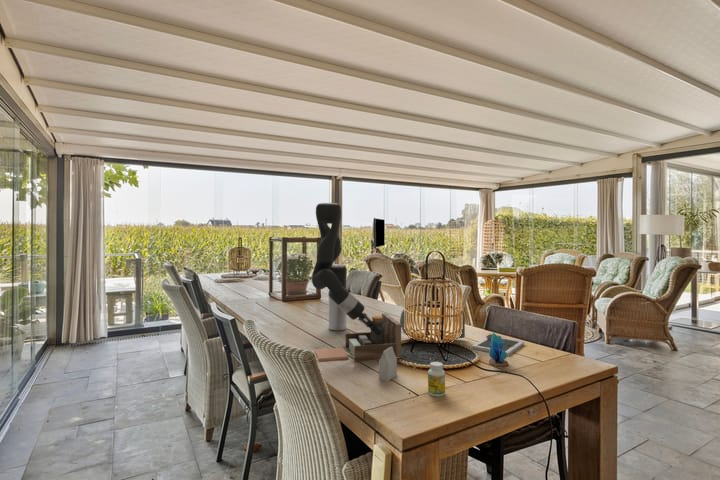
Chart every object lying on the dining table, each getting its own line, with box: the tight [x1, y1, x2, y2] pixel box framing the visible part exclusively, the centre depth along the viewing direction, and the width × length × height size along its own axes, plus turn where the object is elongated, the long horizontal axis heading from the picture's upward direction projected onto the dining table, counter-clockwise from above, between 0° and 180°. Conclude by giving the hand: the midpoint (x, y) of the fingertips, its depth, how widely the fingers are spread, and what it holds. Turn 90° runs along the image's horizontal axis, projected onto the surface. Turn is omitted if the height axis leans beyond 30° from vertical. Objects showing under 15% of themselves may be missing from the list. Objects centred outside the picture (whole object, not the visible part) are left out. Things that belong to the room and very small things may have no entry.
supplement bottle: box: [427, 361, 446, 397], centre depth 127 cm, size 5×5×10 cm
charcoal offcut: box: [358, 335, 372, 345], centre depth 168 cm, size 12×3×6 cm, turn 13°
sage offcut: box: [348, 339, 360, 357], centre depth 167 cm, size 14×3×4 cm, turn 13°
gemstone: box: [488, 332, 509, 368], centre depth 154 cm, size 7×9×12 cm
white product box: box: [378, 347, 398, 382], centre depth 141 cm, size 4×7×10 cm, turn 150°
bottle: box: [370, 315, 384, 345], centre depth 169 cm, size 6×6×15 cm
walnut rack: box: [344, 312, 402, 363], centre depth 168 cm, size 21×19×14 cm
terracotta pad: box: [314, 347, 349, 362], centre depth 165 cm, size 12×12×1 cm
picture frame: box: [471, 333, 525, 357], centre depth 176 cm, size 16×3×21 cm
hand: (377, 331), depth 169 cm, fingers open, 8 cm apart
